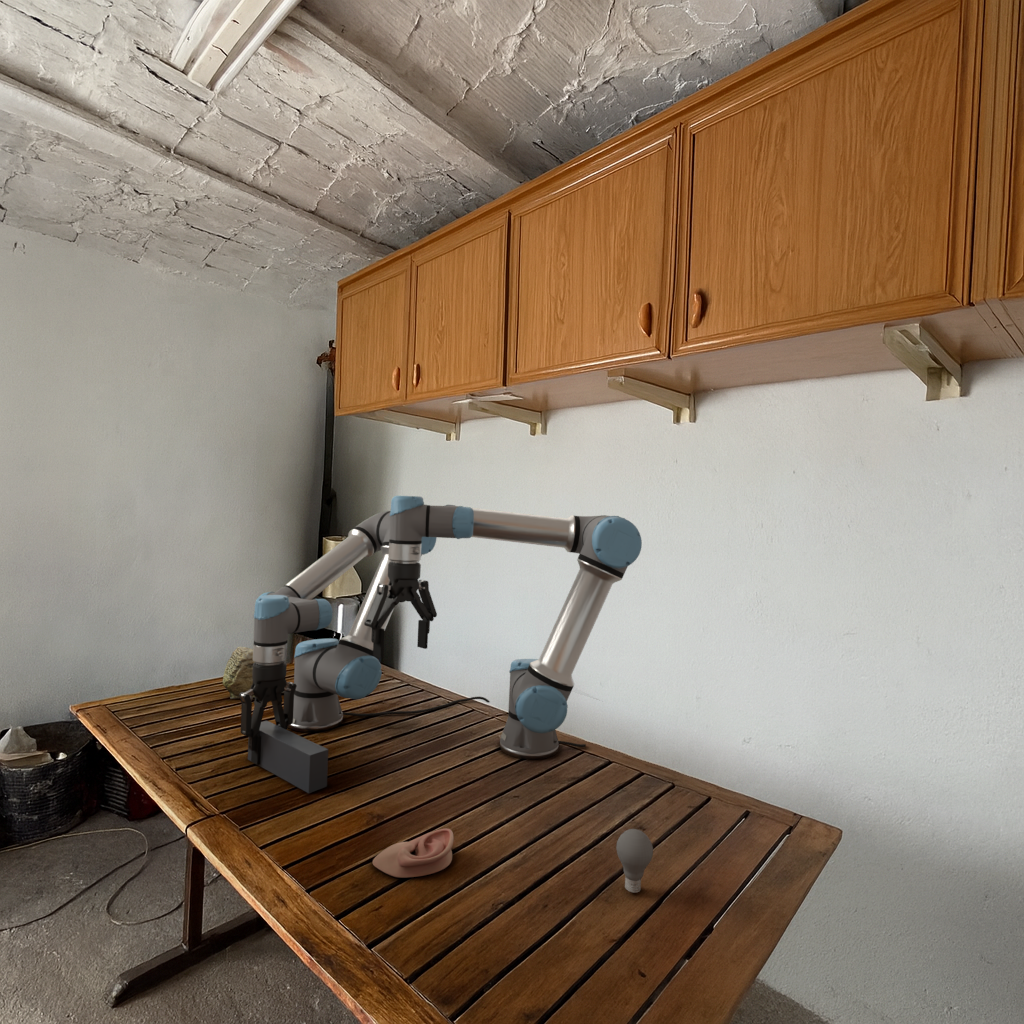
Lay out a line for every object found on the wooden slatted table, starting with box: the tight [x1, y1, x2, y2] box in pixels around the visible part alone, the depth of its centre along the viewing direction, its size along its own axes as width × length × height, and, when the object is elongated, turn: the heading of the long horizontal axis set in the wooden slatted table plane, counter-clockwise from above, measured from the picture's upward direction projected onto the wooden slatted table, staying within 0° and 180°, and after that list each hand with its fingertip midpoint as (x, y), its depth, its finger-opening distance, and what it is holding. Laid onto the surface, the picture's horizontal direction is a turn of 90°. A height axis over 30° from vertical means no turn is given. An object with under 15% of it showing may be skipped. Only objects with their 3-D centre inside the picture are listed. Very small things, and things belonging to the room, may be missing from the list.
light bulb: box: [615, 828, 654, 894], centre depth 106 cm, size 6×6×10 cm
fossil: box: [222, 646, 285, 699], centre depth 198 cm, size 9×18×15 cm, turn 132°
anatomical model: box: [372, 828, 455, 879], centre depth 112 cm, size 13×4×12 cm
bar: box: [247, 720, 329, 794], centre depth 145 cm, size 25×5×8 cm, turn 51°
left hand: (266, 759), depth 150 cm, fingers closed on bar, 5 cm apart
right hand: (400, 652), depth 148 cm, fingers open, 13 cm apart
